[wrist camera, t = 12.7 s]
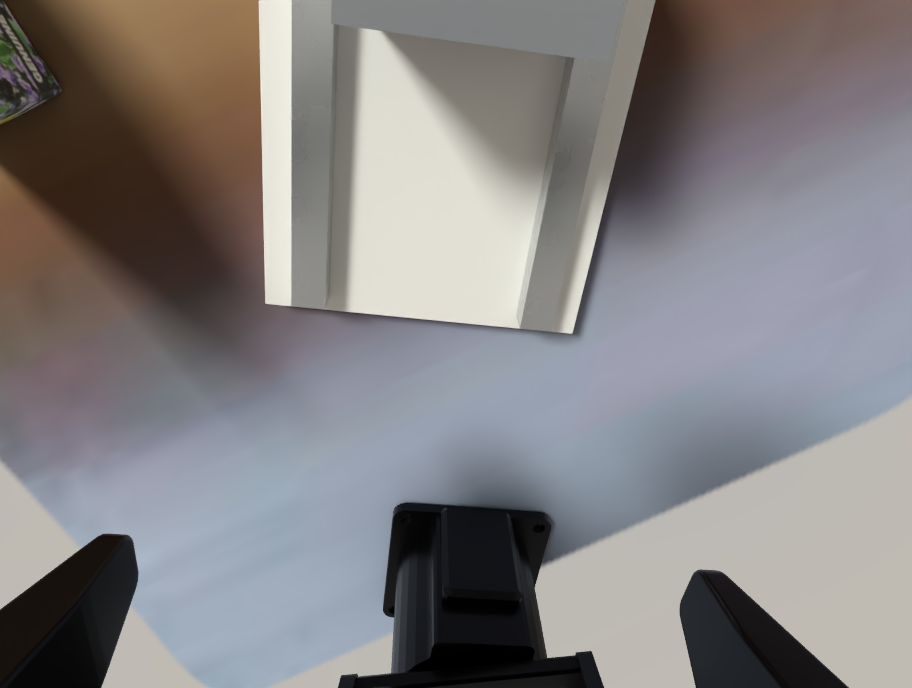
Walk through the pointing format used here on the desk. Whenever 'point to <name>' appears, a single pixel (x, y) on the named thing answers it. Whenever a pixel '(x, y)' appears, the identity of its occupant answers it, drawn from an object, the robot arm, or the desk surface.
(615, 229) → the desk surface
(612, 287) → the desk surface
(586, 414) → the desk surface
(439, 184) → the rail plate
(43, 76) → the ink box
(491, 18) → the block
